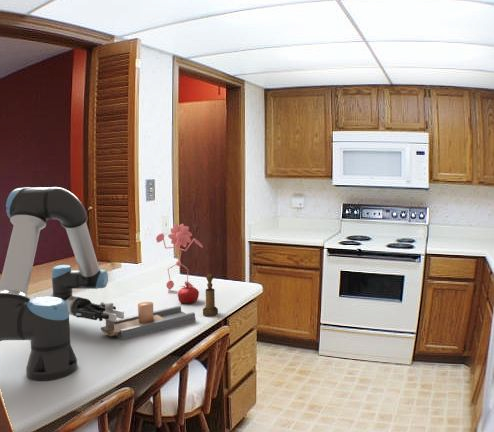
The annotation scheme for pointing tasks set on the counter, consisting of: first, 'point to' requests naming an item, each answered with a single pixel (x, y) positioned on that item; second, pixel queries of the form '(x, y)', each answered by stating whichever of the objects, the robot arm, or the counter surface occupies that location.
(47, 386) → the counter surface
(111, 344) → the counter surface
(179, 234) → the pink branching stem figurine
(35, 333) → the robot arm
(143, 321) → the canister
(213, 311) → the bronze statuette
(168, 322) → the track
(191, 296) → the pomegranate
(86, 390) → the counter surface
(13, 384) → the counter surface
